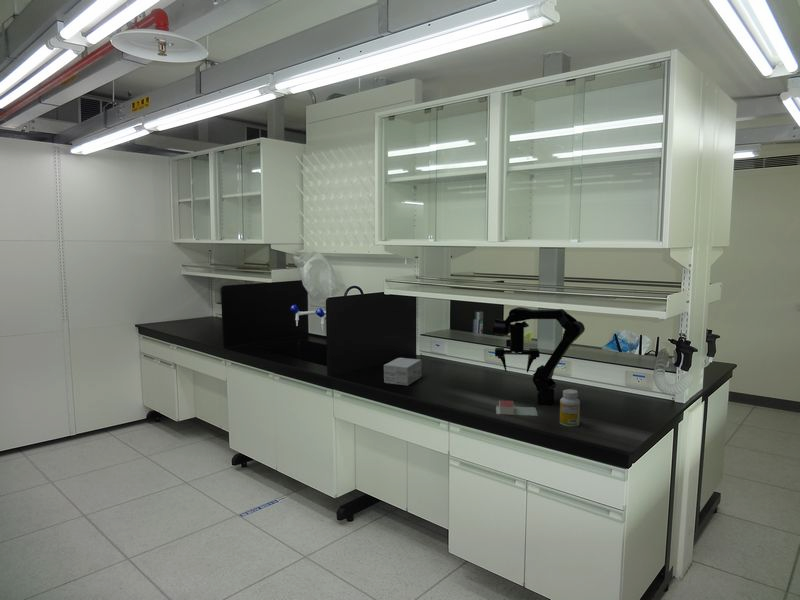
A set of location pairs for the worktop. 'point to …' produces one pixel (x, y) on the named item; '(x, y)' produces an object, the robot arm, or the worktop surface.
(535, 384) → the robot arm
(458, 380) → the worktop surface
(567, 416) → the supplement bottle
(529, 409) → the mat
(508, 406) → the card deck
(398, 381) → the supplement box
